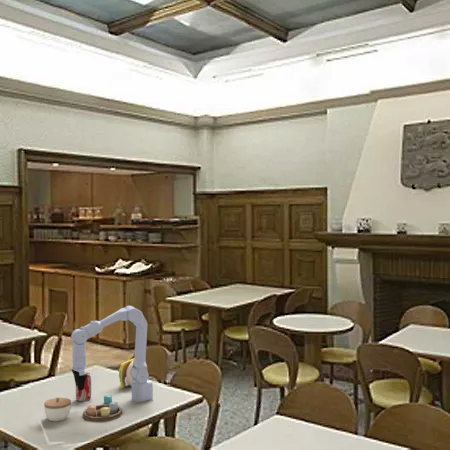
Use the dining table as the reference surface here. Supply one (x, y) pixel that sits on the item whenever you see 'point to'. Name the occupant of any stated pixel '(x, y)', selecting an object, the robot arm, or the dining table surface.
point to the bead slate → (113, 407)
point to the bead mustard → (105, 411)
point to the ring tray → (112, 416)
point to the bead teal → (107, 399)
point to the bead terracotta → (91, 410)
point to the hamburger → (126, 373)
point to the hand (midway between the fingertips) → (79, 387)
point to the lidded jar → (57, 409)
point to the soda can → (84, 390)
